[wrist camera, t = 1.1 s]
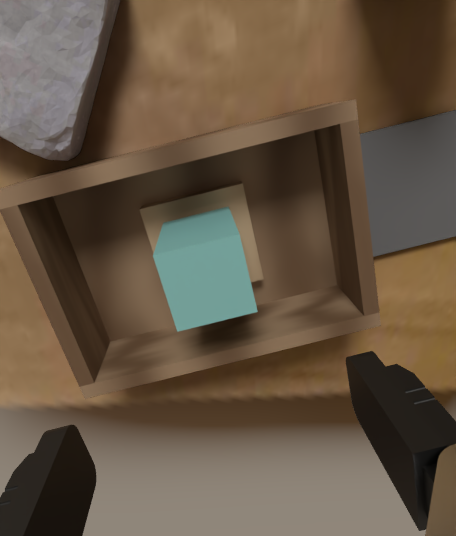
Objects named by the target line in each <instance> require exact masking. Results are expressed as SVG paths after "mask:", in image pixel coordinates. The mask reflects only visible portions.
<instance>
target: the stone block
mask: <svg viewBox="0 0 456 536" xmlns="http://www.w3.org/2000/svg"><path fill="white" fill-rule="evenodd" d="M119 3H120V0H0V137H2V138H4V139H6V140H8V141H10V142H12V143H13V144H15V145H16V146H18V147H20V148H21V149H23V150H25V151H27V152H30V153H32V154H34V155H37V156H40V157H42V158H45V159H48V160H62V161H67V160H70V159H71V158H74V157H76V156H77V155H78V154H79V153H80V151H81V149H82V144H83V141H84V138H85V134H86V130H87V125H88V121H89V118H90V114H91V111H92V106H93V102H94V98H95V94H96V91H97V87H98V84H99V80H100V76H101V72H102V68H103V64H104V61H105V57H106V53H107V49H108V45H109V40H110V36H111V33H112V29H113V26H114V22H115V18H116V14H117V11H118V7H119Z"/></svg>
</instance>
